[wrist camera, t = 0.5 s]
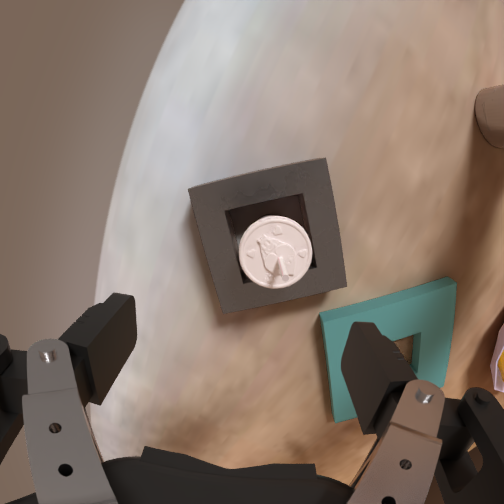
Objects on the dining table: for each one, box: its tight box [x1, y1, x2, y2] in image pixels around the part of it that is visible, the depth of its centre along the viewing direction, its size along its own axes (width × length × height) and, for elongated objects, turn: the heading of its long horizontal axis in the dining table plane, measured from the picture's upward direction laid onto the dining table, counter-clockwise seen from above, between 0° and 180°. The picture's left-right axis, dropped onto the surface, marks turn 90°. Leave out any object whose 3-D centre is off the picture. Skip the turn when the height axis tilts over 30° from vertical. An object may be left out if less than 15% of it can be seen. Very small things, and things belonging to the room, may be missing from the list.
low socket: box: [319, 276, 457, 423], centre depth 39 cm, size 20×20×2 cm
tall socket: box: [188, 158, 347, 314], centre depth 33 cm, size 14×14×4 cm
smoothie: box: [239, 215, 312, 289], centre depth 28 cm, size 6×6×14 cm
